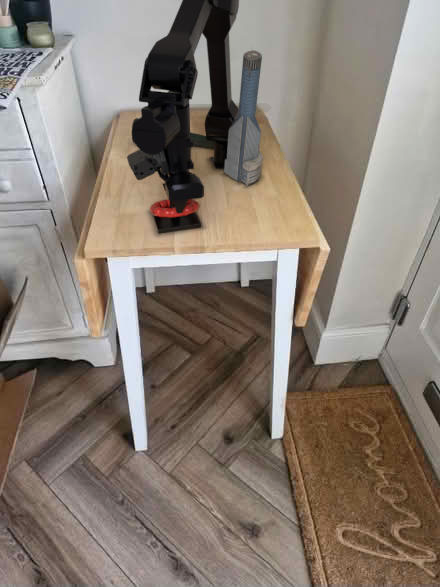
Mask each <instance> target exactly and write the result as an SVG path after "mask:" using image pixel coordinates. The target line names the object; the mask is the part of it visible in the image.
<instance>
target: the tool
mask: <svg viewBox="0 0 440 587" xmlns="http://www.w3.org/2000/svg"><path fill="white" fill-rule="evenodd" d="M139 118H140V117H136V118H134V119H133V121H132V124H131V129H132V128H133V125H134V123H135V122H136V121H137V120H138V119H139ZM190 137H191V138H192V140H193V147H198V148H207V149H208V148H209V149H214V141H207V139H206V135H204V134H201V133H200V134H199V133H195V132H190ZM131 140H132V142H133V143H134V141H133V138H132V137H131Z"/></svg>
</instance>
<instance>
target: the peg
mask: <svg viewBox="0 0 440 587" xmlns="http://www.w3.org/2000/svg"><path fill="white" fill-rule="evenodd" d="M169 202H170V208H175V207H174V204H173V202H172V201H169ZM151 216H152V219H153V223H154V225H155V228H156V232H157V234H158V235H160V234H167V233H173V232H179V231H188V230H196V229H201V228H202V223H201V221H200V219H199V216H198V214H197V211H195V212H194V213H192V214H189V215H185V216H179V217H159V216H154V215H153V214H152V213H151Z"/></svg>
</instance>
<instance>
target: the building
mask: <svg viewBox="0 0 440 587" xmlns="http://www.w3.org/2000/svg"><path fill="white" fill-rule="evenodd" d="M251 47H253V44H252V46H251ZM262 59H263V54H262V53H261V52H259V51H257V50H255V49H254V50H253V49H252V50H247V51H246V52H244V53H243V56H242V67H241V68H242V69H241V80H240V90H239V102H238V109H239V112H238V117H237V118H236V120H235V121H234V123H233V124H232V125H231V127H230V128H229V135H228V149H227V159H225V168H223V173H224V174H225V175H226V176H228V177H230V178H231V179H232V180H234V181H235V182H238V183H239V182H241V183H242V184H243V185H244V186H246V187H249V186H253V185H255V184H257V183H258V181H259V180H260V179H261V176H262V168H263V161H264V157H263V154H262V152H261V151H260V144H261V137H262V130H261V128H260V125H259V122H258V119H257V116H256V113H257V104H258V95H259V87H260V77H261V76H260V75H261V70H262V62H263V61H262Z"/></svg>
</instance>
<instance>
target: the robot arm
mask: <svg viewBox="0 0 440 587" xmlns="http://www.w3.org/2000/svg"><path fill="white" fill-rule="evenodd" d="M239 6H240V0H181V3H180V4H179V7H178V10H177V12H176V15H175V18H174V20H173V22H172V24H171V26H170V29H169V32H168V33H167V35H166V36H164V37H162V38H160V39H158V40H156V41H155V43H154V45H153V46H152V47H151V49H150V51H149V53H148V54H147V57H146V58H145V60H144V63H143V64H144V65H143V69H142V70H143V71H142V76H141V82H140V88H139V89H140V90H139V95H138V102H139V103H147V105H145V106H143V107H141V108H140V109H141V110H140V113H141V114H140V117H138V118H139V119H138V120H137V121H136V122H135V123H134V125H133V128H132V127H131V139H132V138H133V140H132V142H133V141H134V142H133V143H134V145H135V146H136V147H137V150H135V151H132V152H131V153H129V154H128V155H127V156H126V159H127V163H128V166H129V168H130V170H131V171H132V173H133V175H134V177H135V178H136V180H137V181H142V180H144V179H146V178H148V177H151V176H152V175H154V174H155V173H157V174H158V176H159V178H160V179H161V180H163V181H164V182H163V183H162V186H163V189H164V191H165V193H166V196H167V199H169V201H172V202H173V204H174V207H175V209H176V212H177V213H182V212H183V210H184V208H185V206H186V204H187V202H188V200H191V199H193V200H198V199H203V198H204V197H205V186H204V184H203V182H202V180H201V179H200V177H199V176H197V174H195V173H192V172H191V171H190V170H195V163H194V162H193V159H192V148H194V146H193V140H192V138H191V137H190V133H191V112H190V110H191V109H190V106H191V105H190V100H192V99H193V95H194V91H195V88H196V83H197V79H198V76H199V74H198V72H199V71H198V68H197V64H196V58H195V53H196V50H197V47H198V45H199V43H200V40H201V37H202V35H203V37H204V38H205V40H206V50H207V51H206V52H207V64H208V65H207V66H208V75H209V76H208V77H209V88H210V99H211V100H210V101H211V105H210V107H209V109H208V111H207V113H206V115H205V119H204V131H205V136H206V139H207V141H214V148H213V156H209V160H210V162H211V164H212V165H213V167H214V168H215V169H216V170H221V169H224V168H225V159H227V149H228V135H229V128H230V127H231V125H232V124H233V123H234V121H235V120H236V118H237V117H238V112H239V106H237V105H236V103H235V101H234V100H233V99H232V98H233V97H232V75H231V49H230V32H231V30H232V28H233V26H234V24H235V22H236V20H237V15H238V12H239V8H240V7H239ZM152 89H153V90H152ZM158 90H160V91H158Z"/></svg>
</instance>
